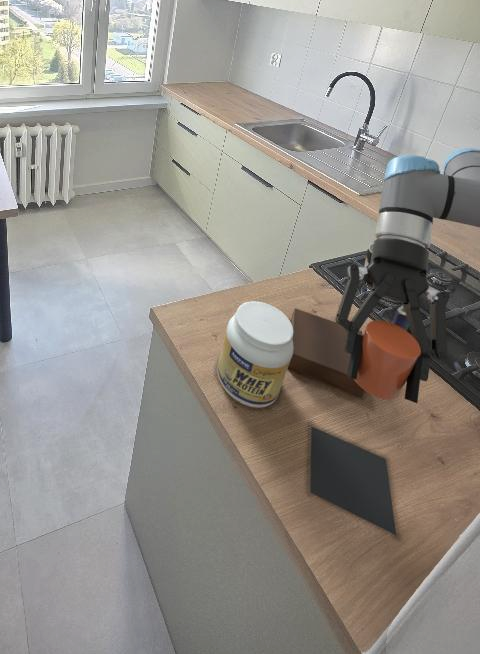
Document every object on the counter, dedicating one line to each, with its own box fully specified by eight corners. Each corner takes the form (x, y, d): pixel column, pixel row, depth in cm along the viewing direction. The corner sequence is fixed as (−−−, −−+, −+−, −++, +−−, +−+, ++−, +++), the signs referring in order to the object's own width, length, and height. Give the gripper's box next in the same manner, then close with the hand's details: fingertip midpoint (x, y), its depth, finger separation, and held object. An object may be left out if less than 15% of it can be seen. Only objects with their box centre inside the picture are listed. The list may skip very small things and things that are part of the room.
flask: (395, 321, 102) (411, 287, 98) (409, 328, 100) (426, 295, 96) (382, 340, 97) (398, 305, 93) (396, 348, 95) (413, 313, 91)
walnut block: (355, 347, 95) (362, 331, 93) (360, 399, 83) (368, 382, 81) (289, 323, 100) (294, 307, 98) (285, 369, 89) (291, 352, 87)
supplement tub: (211, 394, 83) (226, 332, 76) (221, 348, 93) (234, 289, 86) (277, 421, 78) (299, 358, 71) (279, 369, 89) (299, 310, 82)
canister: (396, 371, 68) (416, 331, 65) (403, 408, 62) (425, 366, 59) (348, 353, 71) (364, 313, 67) (350, 386, 65) (368, 345, 62)
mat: (385, 460, 73) (386, 458, 73) (395, 537, 63) (396, 535, 63) (310, 427, 78) (311, 425, 77) (308, 494, 68) (309, 492, 68)
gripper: (464, 267, 69) (450, 416, 62) (330, 231, 77) (305, 359, 70) (487, 260, 63) (475, 426, 56) (339, 221, 71) (312, 362, 64)
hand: (380, 388), depth 63 cm, fingers closed on canister, 7 cm apart
